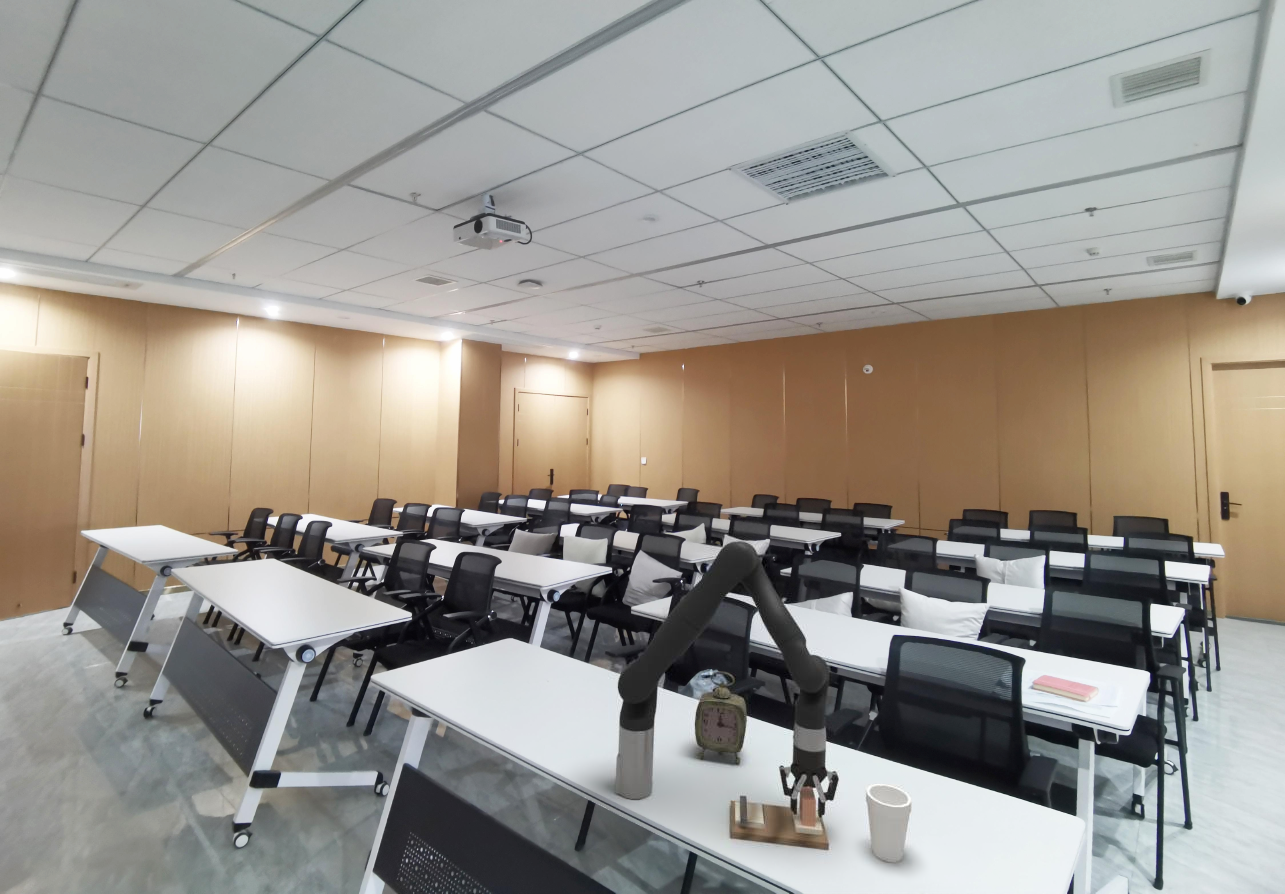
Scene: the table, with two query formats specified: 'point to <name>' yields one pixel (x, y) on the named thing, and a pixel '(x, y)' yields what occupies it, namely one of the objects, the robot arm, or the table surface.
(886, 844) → the foam cup
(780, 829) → the stand
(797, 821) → the stub
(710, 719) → the tabletop clock
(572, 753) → the table surface
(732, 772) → the table surface
